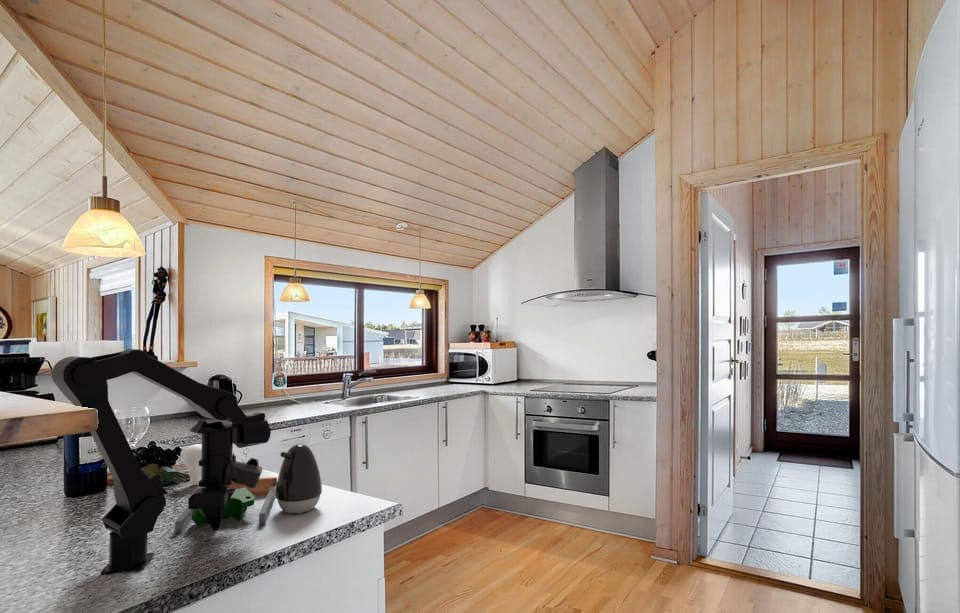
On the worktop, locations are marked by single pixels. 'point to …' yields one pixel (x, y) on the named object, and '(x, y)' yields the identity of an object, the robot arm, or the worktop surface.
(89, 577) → the worktop surface
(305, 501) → the pump dispenser
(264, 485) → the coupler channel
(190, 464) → the lightbulb
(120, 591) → the worktop surface
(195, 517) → the clamp
